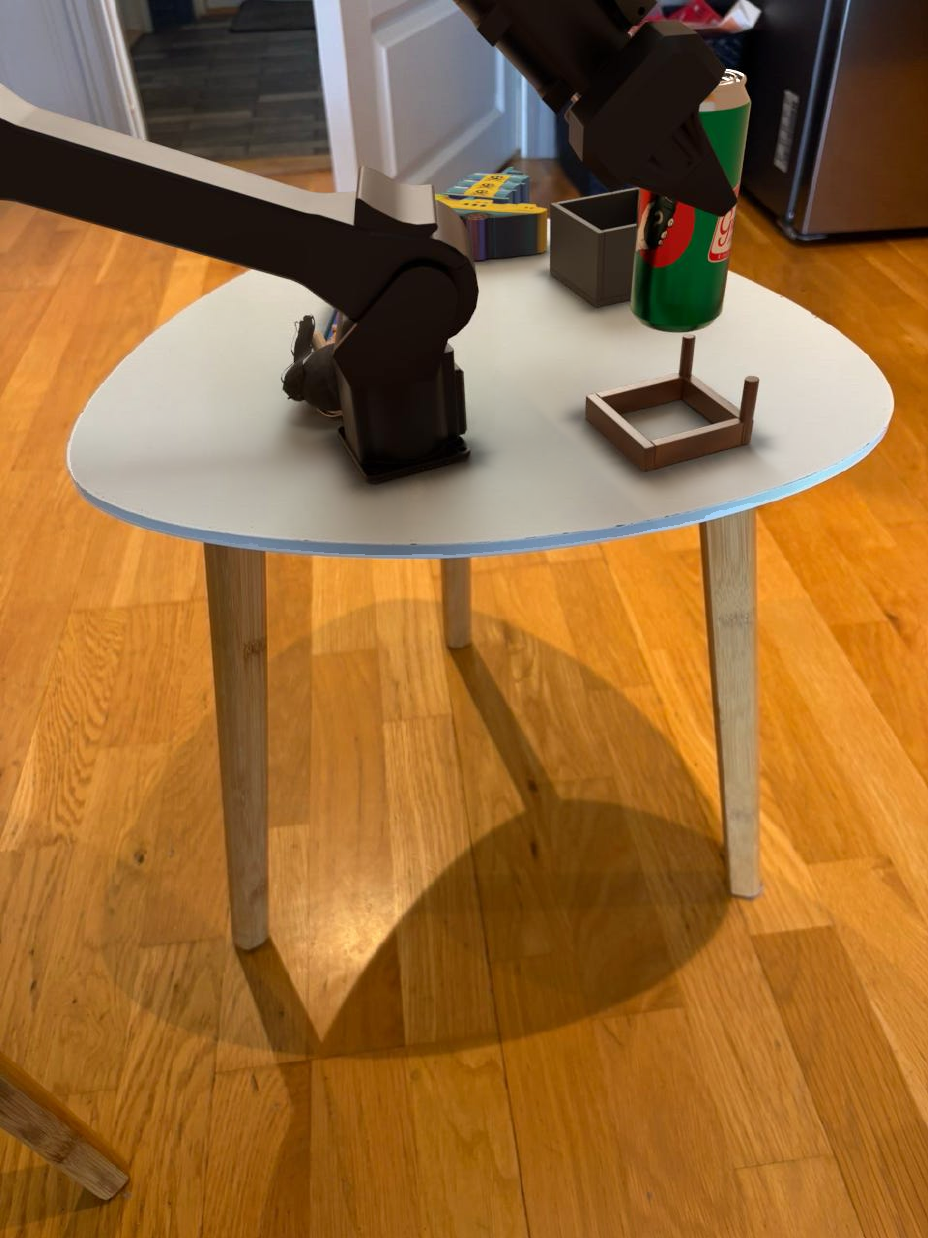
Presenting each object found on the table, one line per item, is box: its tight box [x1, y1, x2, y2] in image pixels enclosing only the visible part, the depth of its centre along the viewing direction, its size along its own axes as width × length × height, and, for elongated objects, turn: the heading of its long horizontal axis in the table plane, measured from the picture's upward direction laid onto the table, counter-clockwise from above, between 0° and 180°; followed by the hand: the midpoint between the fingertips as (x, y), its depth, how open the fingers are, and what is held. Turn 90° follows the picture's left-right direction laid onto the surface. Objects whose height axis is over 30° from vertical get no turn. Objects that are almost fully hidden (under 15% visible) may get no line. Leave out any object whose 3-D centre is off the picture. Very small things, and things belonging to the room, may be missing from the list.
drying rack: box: [584, 333, 760, 472], centre depth 56 cm, size 7×7×4 cm
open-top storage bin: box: [549, 187, 639, 308], centre depth 74 cm, size 8×8×6 cm
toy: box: [435, 166, 548, 261], centre depth 85 cm, size 16×3×15 cm
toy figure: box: [280, 314, 343, 418], centre depth 63 cm, size 7×6×15 cm
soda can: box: [630, 68, 752, 334], centre depth 49 cm, size 5×5×12 cm
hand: (714, 193), depth 49 cm, fingers closed on soda can, 5 cm apart
